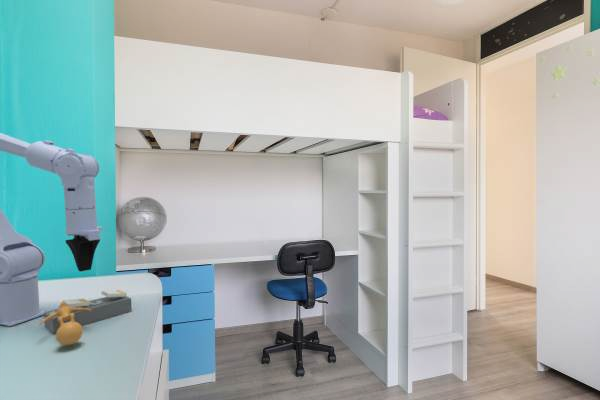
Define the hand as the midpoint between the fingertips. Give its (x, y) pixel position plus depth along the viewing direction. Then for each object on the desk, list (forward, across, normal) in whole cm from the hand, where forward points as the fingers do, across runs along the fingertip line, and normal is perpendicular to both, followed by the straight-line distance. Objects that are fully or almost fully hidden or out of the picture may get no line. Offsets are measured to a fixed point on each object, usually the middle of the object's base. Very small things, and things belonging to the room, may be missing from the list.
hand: (84, 270), depth 75 cm
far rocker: (+7, -2, -5) cm, 8 cm away
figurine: (+10, -15, +7) cm, 20 cm away
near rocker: (+7, -2, +3) cm, 7 cm away
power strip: (+10, -2, 0) cm, 11 cm away
